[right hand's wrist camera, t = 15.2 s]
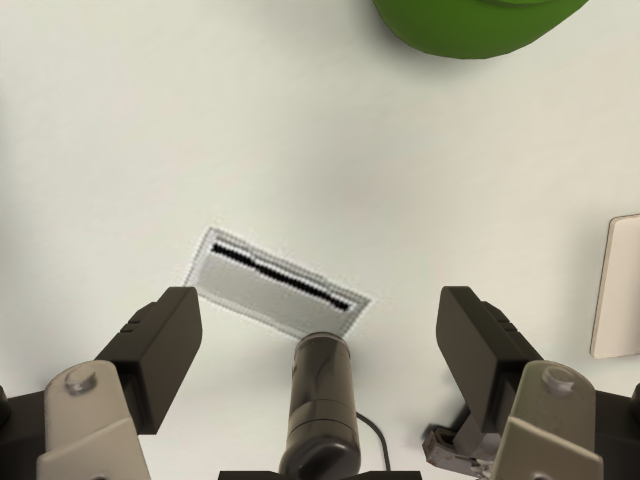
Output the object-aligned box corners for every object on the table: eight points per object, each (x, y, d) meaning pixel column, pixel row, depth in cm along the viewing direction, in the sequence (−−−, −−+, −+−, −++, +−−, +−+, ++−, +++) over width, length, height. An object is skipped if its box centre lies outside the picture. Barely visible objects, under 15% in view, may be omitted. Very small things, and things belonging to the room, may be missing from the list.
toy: (594, 395, 63) (672, 478, 49) (534, 468, 70) (588, 559, 56) (468, 357, 60) (513, 434, 46) (418, 437, 67) (444, 526, 53)
